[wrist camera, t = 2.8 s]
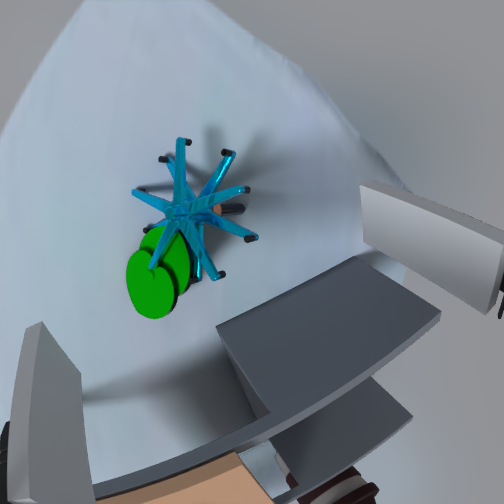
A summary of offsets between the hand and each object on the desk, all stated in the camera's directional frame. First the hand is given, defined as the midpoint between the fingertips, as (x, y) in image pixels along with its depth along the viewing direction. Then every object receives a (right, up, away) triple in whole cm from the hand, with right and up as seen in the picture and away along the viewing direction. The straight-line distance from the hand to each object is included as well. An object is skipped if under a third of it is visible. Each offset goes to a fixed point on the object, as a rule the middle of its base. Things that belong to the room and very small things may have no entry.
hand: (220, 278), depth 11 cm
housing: (-2, -13, +18) cm, 22 cm away
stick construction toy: (-4, +3, +10) cm, 11 cm away
